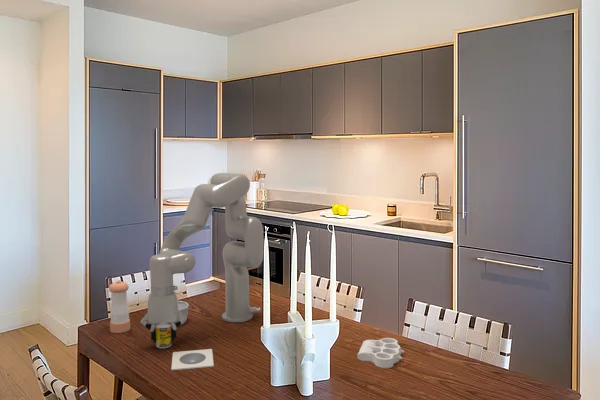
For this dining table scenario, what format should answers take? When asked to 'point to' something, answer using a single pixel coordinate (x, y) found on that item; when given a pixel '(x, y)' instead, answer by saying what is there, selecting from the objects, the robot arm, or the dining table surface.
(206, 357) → the card
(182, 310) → the ramekin
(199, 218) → the robot arm
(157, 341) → the supplement bottle
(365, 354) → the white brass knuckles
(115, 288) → the salt shaker
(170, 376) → the dining table surface
